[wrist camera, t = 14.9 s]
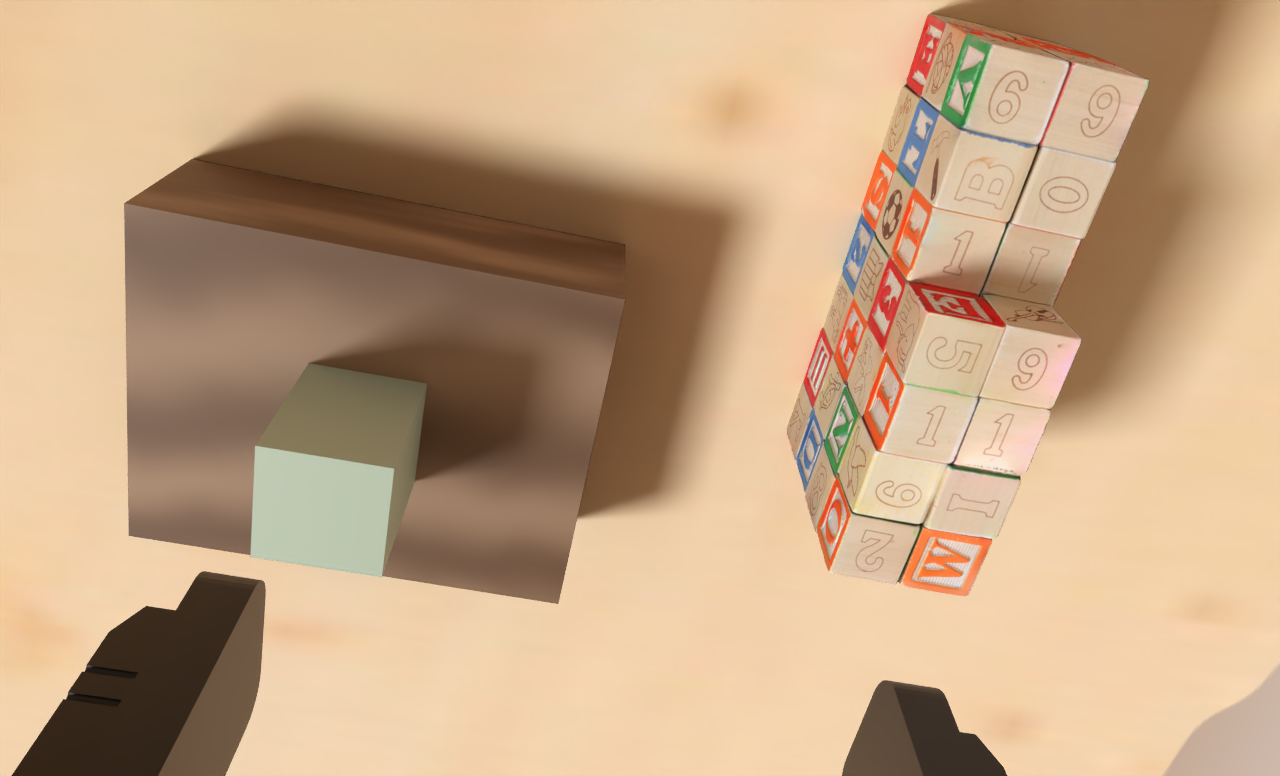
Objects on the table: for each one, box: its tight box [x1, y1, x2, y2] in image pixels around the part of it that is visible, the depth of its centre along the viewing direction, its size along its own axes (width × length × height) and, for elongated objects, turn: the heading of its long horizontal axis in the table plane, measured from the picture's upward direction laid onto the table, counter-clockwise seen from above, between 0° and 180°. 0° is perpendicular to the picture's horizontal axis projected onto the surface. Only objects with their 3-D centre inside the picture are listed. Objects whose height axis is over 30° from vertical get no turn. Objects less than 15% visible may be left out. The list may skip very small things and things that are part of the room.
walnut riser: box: [124, 159, 625, 604], centre depth 48 cm, size 16×20×7 cm
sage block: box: [250, 363, 427, 577], centre depth 41 cm, size 5×5×7 cm
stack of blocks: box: [787, 14, 1150, 596], centre depth 43 cm, size 21×6×12 cm, turn 167°
